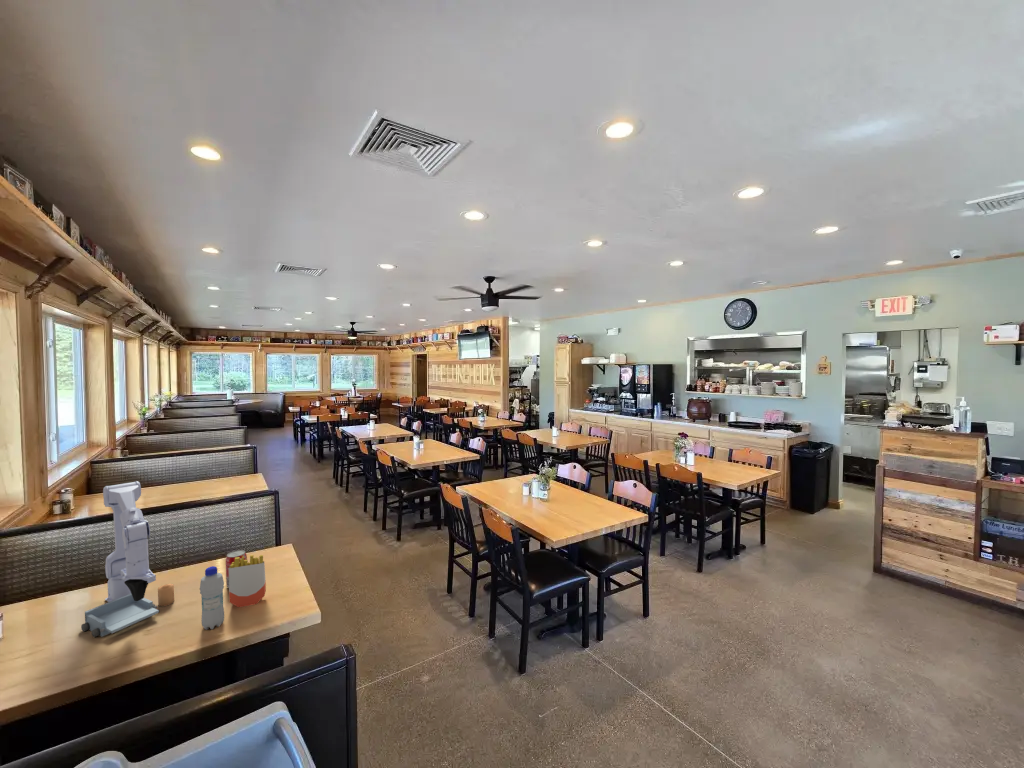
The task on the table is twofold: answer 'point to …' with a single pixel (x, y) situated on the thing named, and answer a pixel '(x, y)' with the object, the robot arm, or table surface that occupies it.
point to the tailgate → (131, 620)
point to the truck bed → (113, 613)
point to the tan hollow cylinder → (166, 595)
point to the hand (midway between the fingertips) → (138, 599)
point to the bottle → (212, 598)
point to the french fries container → (247, 581)
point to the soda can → (231, 559)
